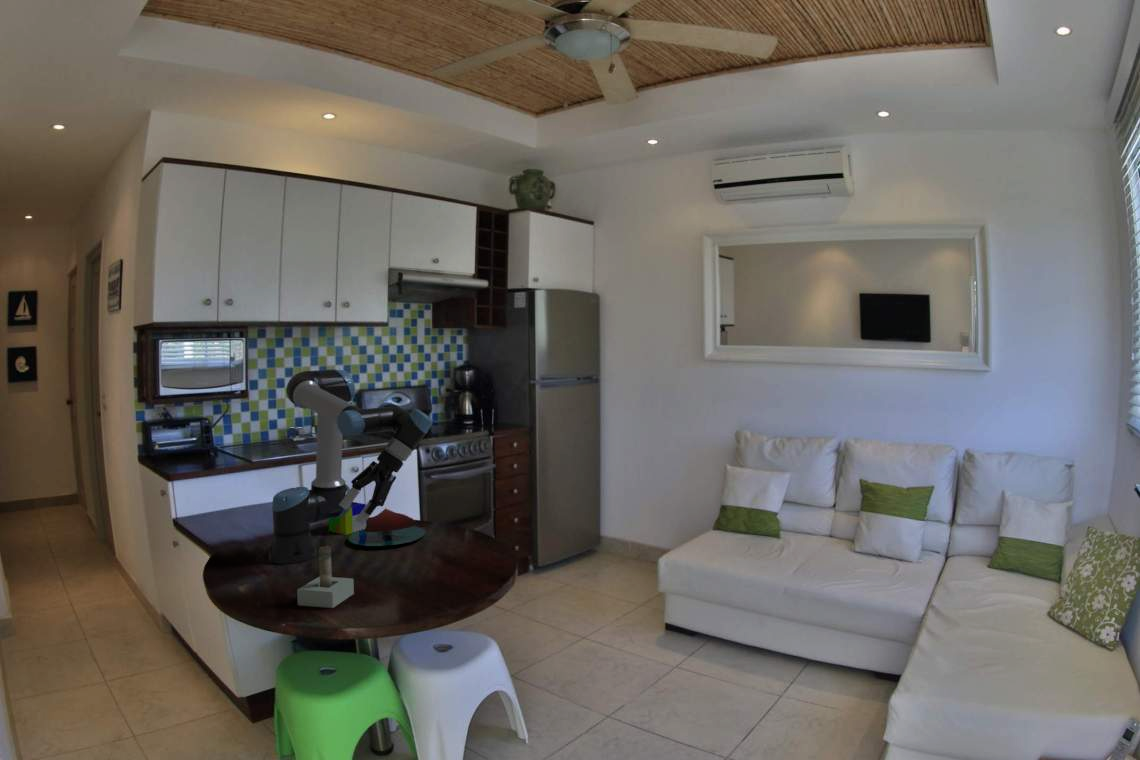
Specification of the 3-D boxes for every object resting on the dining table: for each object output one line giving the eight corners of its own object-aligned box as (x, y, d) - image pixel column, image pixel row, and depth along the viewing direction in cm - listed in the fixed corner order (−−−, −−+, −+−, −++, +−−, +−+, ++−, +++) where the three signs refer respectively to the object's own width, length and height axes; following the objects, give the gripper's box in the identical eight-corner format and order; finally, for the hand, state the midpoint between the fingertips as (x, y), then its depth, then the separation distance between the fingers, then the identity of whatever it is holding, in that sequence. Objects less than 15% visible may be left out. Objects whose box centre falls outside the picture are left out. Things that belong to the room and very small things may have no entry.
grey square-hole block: (297, 605, 190) (297, 589, 190) (320, 591, 201) (319, 576, 201) (332, 608, 188) (332, 592, 188) (353, 593, 199) (353, 578, 198)
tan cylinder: (317, 600, 194) (316, 548, 193) (326, 596, 197) (325, 545, 196) (326, 602, 192) (324, 550, 191) (335, 598, 195) (333, 547, 194)
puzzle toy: (366, 528, 270) (365, 504, 269) (345, 535, 261) (345, 509, 261) (349, 525, 275) (348, 501, 275) (329, 531, 267) (328, 506, 266)
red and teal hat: (352, 554, 236) (351, 523, 236) (345, 534, 262) (344, 506, 261) (432, 544, 247) (431, 514, 247) (417, 525, 273) (417, 498, 272)
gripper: (420, 473, 198) (376, 535, 193) (387, 451, 217) (345, 506, 212) (402, 460, 194) (356, 523, 188) (369, 438, 213) (326, 495, 208)
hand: (350, 514), depth 200 cm, fingers open, 13 cm apart
